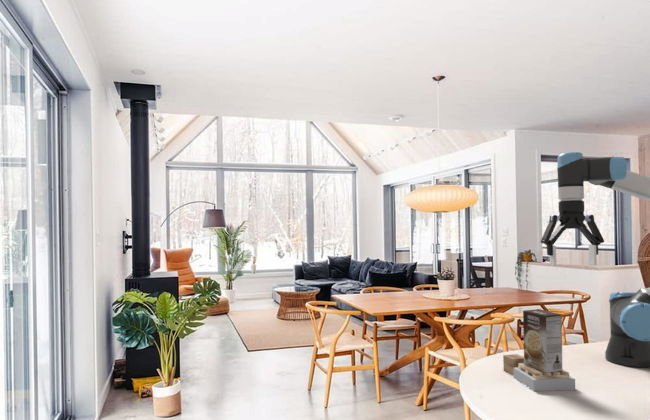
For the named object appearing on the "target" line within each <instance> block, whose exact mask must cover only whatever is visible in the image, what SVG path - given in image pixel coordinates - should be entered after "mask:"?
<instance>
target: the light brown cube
mask: <svg viewBox="0 0 650 420" xmlns="http://www.w3.org/2000/svg"><path fill="white" fill-rule="evenodd" d="M502 356H503V360H502V361H503V363H502V364H503V372H505V373H507V374H510V375H512V376H513V375H514V373H513V368H516V367H518V363H524V355H521V354H518V353H515V354H514V353H513V354H503V355H502Z"/></svg>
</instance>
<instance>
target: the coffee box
mask: <svg viewBox="0 0 650 420" xmlns="http://www.w3.org/2000/svg"><path fill="white" fill-rule="evenodd" d="M522 312H523V313H522V317H523V319H522V320H523V321H522V322H523V323H522V324H523V357H524V364H525V365H527V366H530V367H532V368H535V369H538V370H540V371H543V372H546V373H548V372H555V371H562V369H563V330H562V329H563V327H562V326H563V324H562V323H563V321H562V319H563V318H562V316H563V315H562V314H561V313H558V312H557V313H556V312H553V311H549V310H544V309H540V308H538V309H527V310H522Z"/></svg>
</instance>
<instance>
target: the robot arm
mask: <svg viewBox="0 0 650 420" xmlns="http://www.w3.org/2000/svg"><path fill="white" fill-rule="evenodd" d="M556 167H557V168H556V169H557V171H556V173H557V187H558V188H557V192H558V193H557V196H558V197H557V198H558V200H559V202H558V214H559V215H556V214H551V215H549V222H548V224H547V226H546V229H545V230H544V232H543V235H542V237H541V239H540V243H541V244H544V245H545V246H546V254H547V256H548V257H549V266H551V267H557V245H554V244H555V243H556V241H558V239H559V238H560V236H561V235H562V234H563V233H564V232H565V231H566V230H567V229H576V230H579V232H581V234H582V235H583V236H584V237H585V238H586V239H587V241H588V242H589V243H590V244H588V263H589V264H588V265H590V266H598V265H597V263H598V262H597V255H599V246H600V245H601V244H604V243H605V239H604V238H603V235H602V233H601V231H600V229H599V227H598V226H597V224H596V222H595V216H594V214H587V215H585V214H584V213H585V201H584V200H583V199H585V190H584V189H585V187H584V186H585V185H584V182H588V183H589V184H591V185H594V186H601V187H605V188H607V189H610V190H614V191H617V192H619V193H623V194H625V195H629V196H632V197H635V198H638V199H641V200H643V201H647V202H649V203H650V176H646V175H644V174H640V173H637V172H635V171H630V170H628V166H627V160H626V158H625V157H624V156H613V155H612V156H608V157H607V156H605V157H591V158H585V157H584V155H583V153H582V152H579V151H577V152H574V151H573V152H571V151H570V152H564V153H560V154H559V155H558V156H557V166H556ZM558 221H559V224H558V225H557V222H558ZM585 223H586V224H587V225H586V224H585ZM556 226H557V227H556ZM555 227H556V229H555ZM588 228H589V229H588ZM554 230H555V231H554ZM608 302H609V321H610V322H609V325H610V327H609V328H610V329H609V330H610V337H609V341H608V343H607V345H606V349H605V351H604V353H605V354H604V355H605V357H604V358H605V360H607V361H609V362H610V363H613V364H617V365H621V366H627V367H633V368H634V367H635V368H650V287H640V289H638V290H637V291H636V292H629V291H628V292H625V291H623V292H621V291H612V292H611V293H610V294H609V300H608Z"/></svg>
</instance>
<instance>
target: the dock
mask: <svg viewBox="0 0 650 420" xmlns="http://www.w3.org/2000/svg"><path fill="white" fill-rule="evenodd" d="M513 373H514V376H513V379H515V380H516V379H517V380H516V381H518V382H519V381H520V382H519V383H521V384H522V383H523V384H522V385H524V386H525V385H526V388H528V387H529V389H530V390H531V391H533V392H545V391H546V392H547V391H548V392H549V391H574V390H576V378H574V377H572V376H570V375H569V376H570V378H548V379H534V378H533V377H532V374H526V373H525V370H520V369H518V367H516V368H513Z"/></svg>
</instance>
